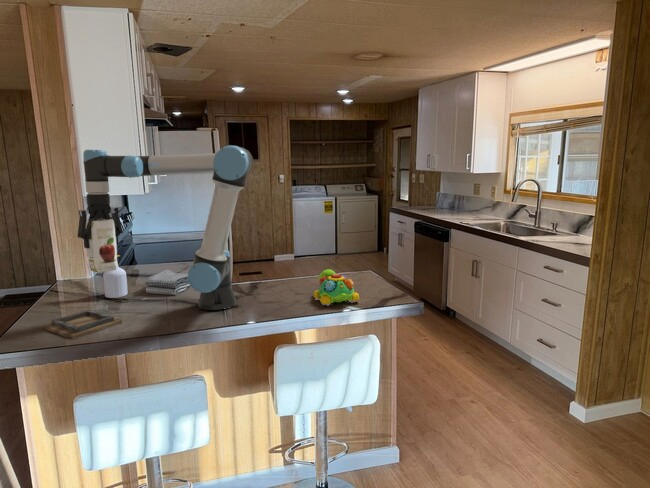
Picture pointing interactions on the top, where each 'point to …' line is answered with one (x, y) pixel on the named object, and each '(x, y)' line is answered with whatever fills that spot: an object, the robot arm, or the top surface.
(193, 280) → the robot arm
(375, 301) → the top surface
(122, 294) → the soap bottle
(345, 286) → the turtle toy
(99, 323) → the base plate
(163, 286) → the towel
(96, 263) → the juice carton
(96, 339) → the top surface
